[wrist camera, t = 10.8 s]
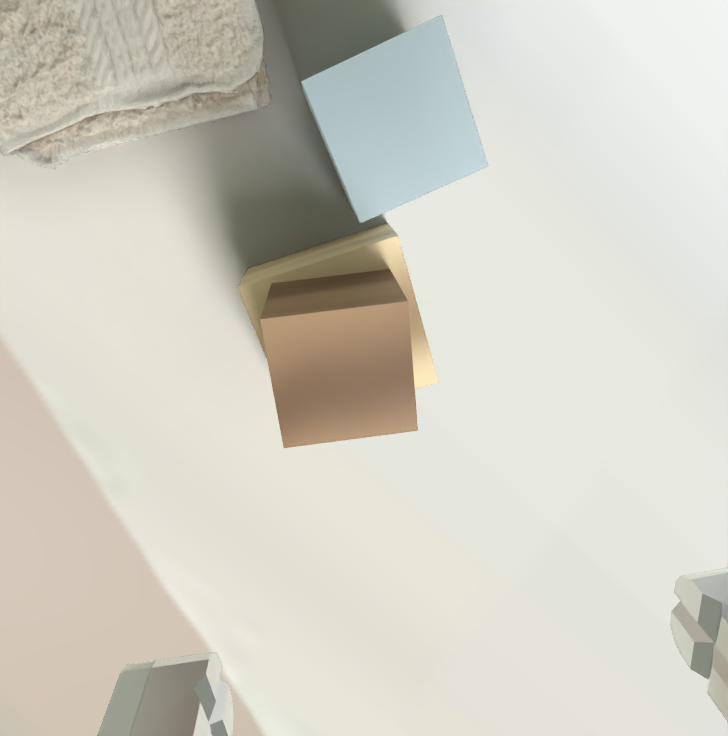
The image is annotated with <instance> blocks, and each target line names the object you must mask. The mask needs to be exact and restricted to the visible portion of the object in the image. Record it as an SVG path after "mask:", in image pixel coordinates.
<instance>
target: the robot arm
mask: <svg viewBox="0 0 728 736" xmlns="http://www.w3.org/2000/svg"><path fill="white" fill-rule="evenodd" d="M674 593H675V594H676V595H677V597H678V598H679V599H680V602H679V604H678V605H677V606H676V607H675V608H674V609H673V610H672V613H671V629H672V633H673V637H674V641H675V644H676V646H677V648H678V650H679V652H680V654H681V656H682V657H683V659H684V660H685V661H686V663H687V664H688V666H689V667H690V669H692V670H694V671H695V672H697V673H698V674H700V675H702V676H703V677H705V678H707V679H708V689H707V693H708V695H709V696H710V698H711V699H712V700H713V702H714V703H715V705H716V706H717V707H718V709H719V710H720V712H721V713H722V714H723V716H724V717H725V719H726V720H727V722H728V568H723V569H717V570H711V571H706V572H700V573H694V574H688V575H683V576H680V577H679V578H678V580H677V581H676V584H675V590H674ZM221 669H222V664H221V661H220V659H219V656H218V654H217V652H211V653H204V654H196V655H189V656H182V657H174V658H167V659H159V660H153V661H147V662H140V663H133V664H127V665H126V667H125V668H124V669H123V671H122V672H121V673H120V675H119V678H118V681H117V683H116V686H115V689H114V692H113V694H112V697H111V700H110V703H109V705H108V708H107V711H106V713H105V716H104V719H103V722H102V724H101V727H100V730H99V732H98V735H97V736H232V733H233V701H232V695H231V691H230V688H229V685H228V683H227V682H225V681H224V680H222V679H221V678H220V675H221Z"/></svg>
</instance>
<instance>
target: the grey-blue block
mask: <svg viewBox="0 0 728 736" xmlns="http://www.w3.org/2000/svg"><path fill="white" fill-rule="evenodd" d="M301 82H302V87H303V91H304V95H305V98H306V100H307V103H308V105H309V107H310V110H311V112H312V114H313V117H314V119H315V122H316V124H317V126H318V129H319V131H320V134H321V136H322V138H323V141H324V143H325V146H326V148H327V150H328V153H329V155H330V158H331V160H332V162H333V165H334V167H335V170H336V172H337V174H338V177H339V179H340V181H341V184H342V186H343V189H344V191H345V193H346V196H347V198H348V201H349V203H350V205H351V207H352V209H353V211H354V213H355V215H356V216H357V218H358V220H359V222H360V223H363V222H365V221H367V220H369V219H371V218H374V217H376V216H378V215H380V214H383V213H385V212H387V211H389V210H392V209H394V208H396V207H398V206H401V205H403V204H405V203H407V202H410V201H412V200H414V199H416V198H418V197H421V196H423V195H425V194H427V193H430V192H432V191H434V190H436V189H439V188H441V187H443V186H445V185H448V184H450V183H452V182H454V181H456V180H459V179H461V178H463V177H465V176H468V175H470V174H472V173H474V172H477V171H479V170H481V169H483V168H486V167H488V163H487V160H486V156H485V153H484V150H483V147H482V143H481V140H480V137H479V134H478V130H477V127H476V124H475V121H474V117H473V114H472V111H471V108H470V104H469V101H468V98H467V95H466V91H465V88H464V85H463V81H462V78H461V75H460V72H459V68H458V65H457V62H456V59H455V55H454V52H453V49H452V46H451V42H450V39H449V36H448V33H447V29H446V26H445V23H444V20H443V16H442V15H440V16H438V17H436V18H434V19H432V20H429V21H427V22H425V23H423V24H421V25H419V26H417V27H415V28H413V29H410V30H408V31H406V32H404V33H402V34H400V35H398V36H396V37H394V38H391V39H389V40H387V41H385V42H383V43H381V44H379V45H377V46H375V47H372V48H370V49H368V50H366V51H364V52H362V53H360V54H358V55H356V56H353V57H351V58H349V59H347V60H345V61H343V62H341V63H339V64H337V65H334V66H332V67H330V68H328V69H326V70H324V71H322V72H320V73H318V74H315V75H313V76H311V77H309V78H307V79H305V80H303V81H301Z"/></svg>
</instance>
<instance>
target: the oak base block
mask: <svg viewBox="0 0 728 736" xmlns="http://www.w3.org/2000/svg"><path fill="white" fill-rule="evenodd" d="M386 269H390V270H391V272H392V273H393V275H394V277H395V279H396V280H397V282H398V284H399V286H400V288H401V289H402V291H403V293H404V295H405V296H406V298H407V300H408V305H409V319H410V332H411V346H412V359H413V373H414V386H415V390H416V389H420V388H423V387H426V386H429V385H432V384H436V383H439V381H438V377H437V374H436V370H435V367H434V363H433V359H432V356H431V352H430V349H429V345H428V341H427V338H426V334H425V331H424V327H423V323H422V320H421V316H420V313H419V309H418V305H417V302H416V298H415V295H414V291H413V287H412V284H411V280H410V277H409V273H408V269H407V266H406V262H405V259H404V255H403V251H402V248H401V244H400V241H399V237H398V235H397V234H396V232H395V231H394V230H393V229H392V228H391V227H390V225H389V224H388V223H386V224H383V225H379V226H376V227H373V228H370V229H367V230H364V231H361V232H358V233H355V234H352V235H349V236H346V237H343V238H340V239H337V240H334V241H331V242H328V243H324V244H321V245H318V246H315V247H312V248H309V249H306V250H303V251H300V252H297V253H294V254H291V255H288V256H285V257H282V258H279V259H276V260H273V261H269V262H266V263H263V264H260V265H257V266H254V267H251V268H248V269H247V271H246V273H245V275H244V277H243V278H242V280H241V282H240V284H239V286H238V290H239V292H240V295H241V297H242V300H243V302H244V305H245V307H246V310H247V312H248V314H249V317H250V319H251V322H252V324H253V327H254V329H255V331H256V334H257V336H258V339H259V341H260V344H261V346H262V348H263V351H264V353H265V356H266V358H267V355H266V349H265V344H264V339H263V333H262V328H261V322H260V318H261V314H262V311H263V308H264V305H265V302H266V299H267V296H268V293H269V289H270V286H271V283H279V282H287V281H295V280H303V279H312V278H320V277H328V276H336V275H345V274H353V273H361V272H369V271H378V270H386ZM267 361H268V360H267Z"/></svg>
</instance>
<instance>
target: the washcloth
mask: <svg viewBox="0 0 728 736" xmlns="http://www.w3.org/2000/svg"><path fill="white" fill-rule="evenodd" d="M263 38H264V32H263V28H262V23H261V19H260V14H259V11H258V7H257V3H256V0H0V152H1V154H3V155H4V156H7V155H13V154H17V155H18V156H19V157H20V158H22V159H24V160H26V161H29V162H31V163H33V164H36V165H38V166H41V167H45V168H52V169H56V167H55V166H56V165H57V164H62V162H64V161H66V160H68V158H70V157H73V156H77V155H80V154H83V153H87V152H90V151H93V150H97V149H101V148H104V147H110V146H113V145H118V144H121V143H125V142H129V141H134V140H136V139H141V138H146V137H150V136H153V135H157V134H160V133H164V132H168V131H173V130H179V129H182V128H186V127H190V126H193V125H197V124H201V123H206V122H210V121H216V120H220V119H226V118H229V117H233V116H236V115H240V114H244V113H246V112H249V111H254V110H257V109H258V108H262V107H265V106H267V105H269V104H270V102H271V94H270V92H269V78H268V76H267V75H266V71H265V69H266V66H265V63H264V59H263V46H264V40H263Z"/></svg>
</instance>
